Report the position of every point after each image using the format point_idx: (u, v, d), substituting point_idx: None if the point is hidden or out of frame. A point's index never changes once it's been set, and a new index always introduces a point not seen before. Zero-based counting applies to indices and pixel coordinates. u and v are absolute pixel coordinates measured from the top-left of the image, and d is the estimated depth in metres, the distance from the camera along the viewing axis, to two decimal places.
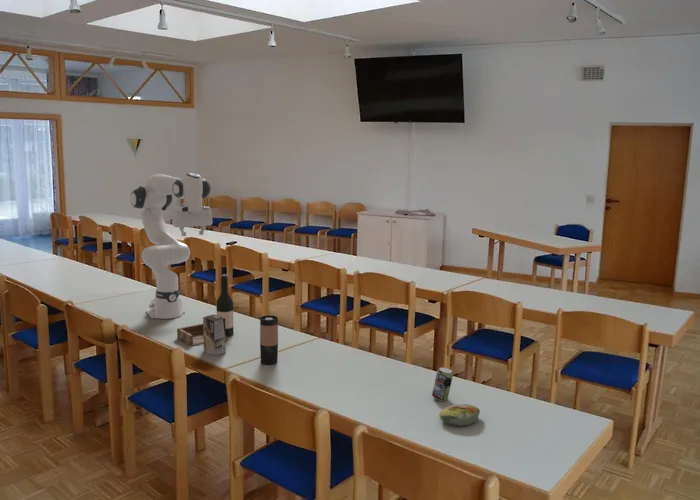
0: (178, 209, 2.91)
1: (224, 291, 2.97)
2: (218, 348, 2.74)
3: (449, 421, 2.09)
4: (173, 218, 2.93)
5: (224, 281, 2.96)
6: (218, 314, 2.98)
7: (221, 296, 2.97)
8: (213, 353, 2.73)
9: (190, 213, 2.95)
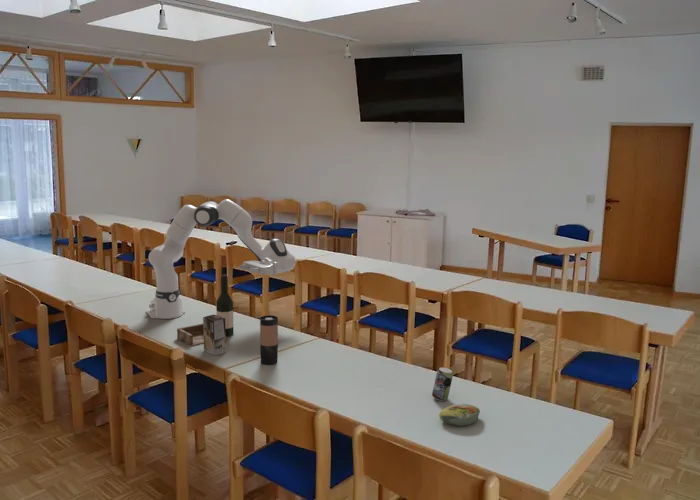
0: (276, 272, 3.08)
1: (224, 291, 2.97)
2: (218, 348, 2.74)
3: (449, 421, 2.09)
4: (269, 268, 3.04)
5: (224, 281, 2.96)
6: (218, 314, 2.97)
7: (221, 296, 2.97)
8: (213, 353, 2.73)
9: None
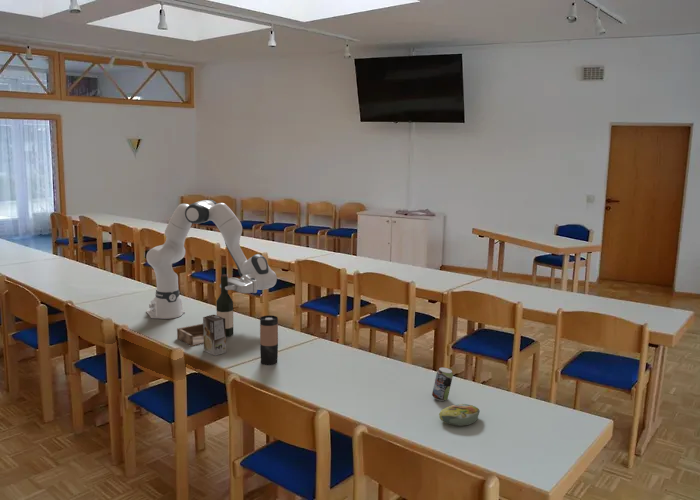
0: (255, 290, 3.00)
1: (224, 291, 2.97)
2: (218, 348, 2.74)
3: (449, 421, 2.09)
4: (248, 287, 2.96)
5: (224, 281, 2.96)
6: (218, 314, 2.97)
7: (221, 296, 2.97)
8: (213, 353, 2.73)
9: None
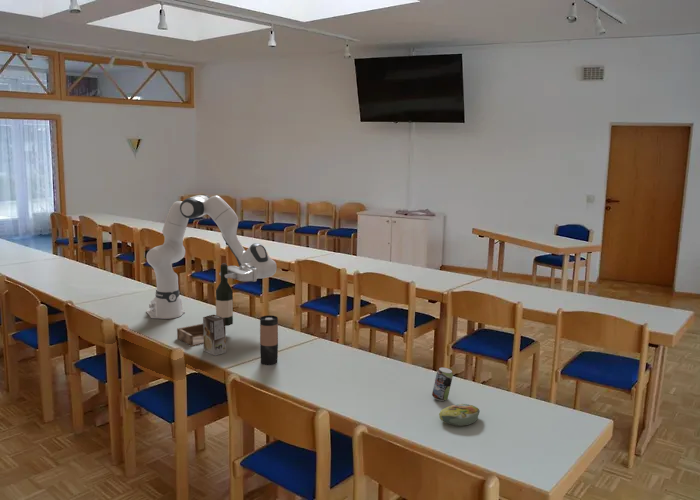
0: (255, 279, 2.99)
1: (223, 280, 2.96)
2: (218, 348, 2.74)
3: (449, 421, 2.09)
4: (248, 275, 2.95)
5: (224, 270, 2.95)
6: (217, 303, 2.97)
7: (221, 285, 2.96)
8: (213, 353, 2.73)
9: None
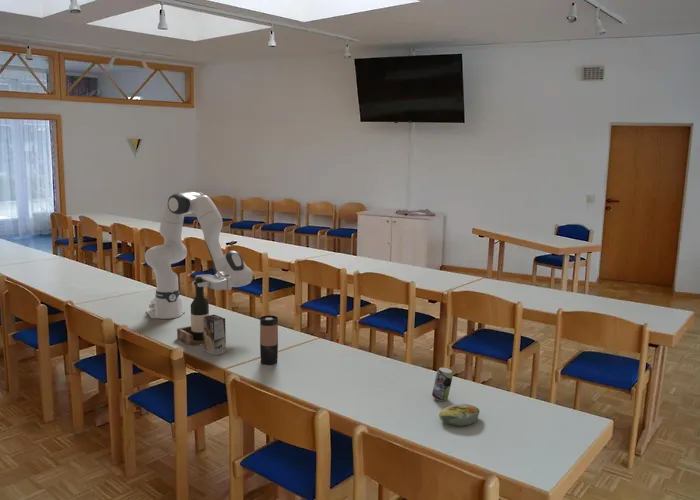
0: (230, 287, 2.91)
1: (197, 294, 2.89)
2: (218, 348, 2.74)
3: (449, 421, 2.09)
4: (222, 283, 2.86)
5: None
6: (191, 317, 2.90)
7: (195, 298, 2.89)
8: (213, 353, 2.73)
9: None
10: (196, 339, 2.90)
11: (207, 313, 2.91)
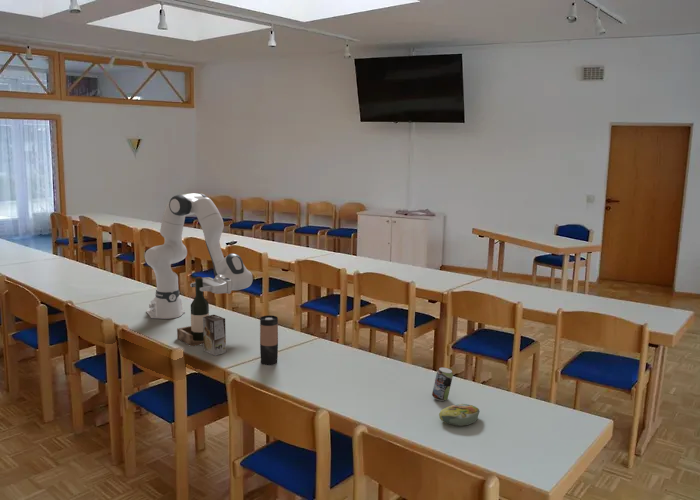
0: (230, 291, 2.91)
1: (197, 294, 2.89)
2: (218, 348, 2.74)
3: (449, 421, 2.09)
4: (222, 287, 2.87)
5: (198, 283, 2.88)
6: (191, 317, 2.90)
7: (195, 298, 2.89)
8: (213, 353, 2.73)
9: None
10: (196, 339, 2.90)
11: (207, 313, 2.91)
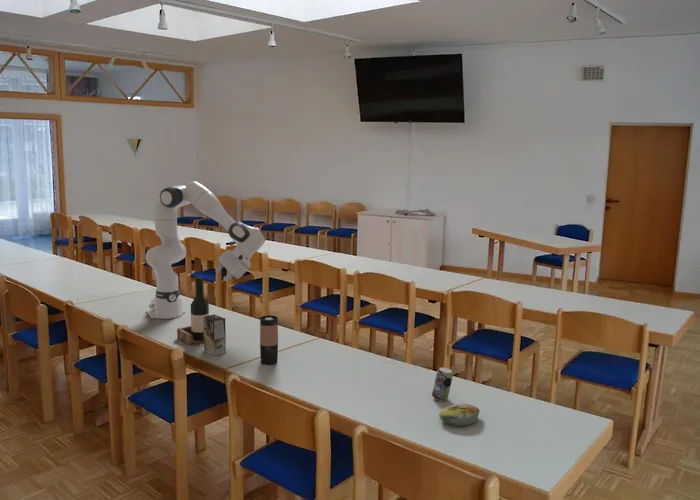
0: (249, 265, 3.00)
1: (197, 294, 2.89)
2: (218, 348, 2.74)
3: (449, 421, 2.09)
4: (240, 270, 2.96)
5: (198, 283, 2.88)
6: (191, 317, 2.90)
7: (195, 298, 2.89)
8: (213, 353, 2.73)
9: None
10: (196, 339, 2.90)
11: (207, 313, 2.91)
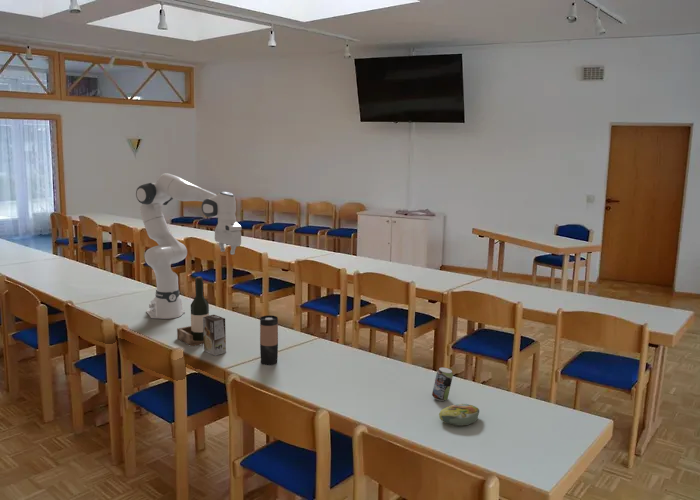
0: (239, 228, 2.97)
1: (197, 294, 2.89)
2: (218, 348, 2.74)
3: (449, 421, 2.09)
4: (236, 238, 2.95)
5: (198, 283, 2.88)
6: (191, 317, 2.90)
7: (195, 298, 2.89)
8: (213, 353, 2.73)
9: None
10: (196, 339, 2.90)
11: (207, 313, 2.91)
